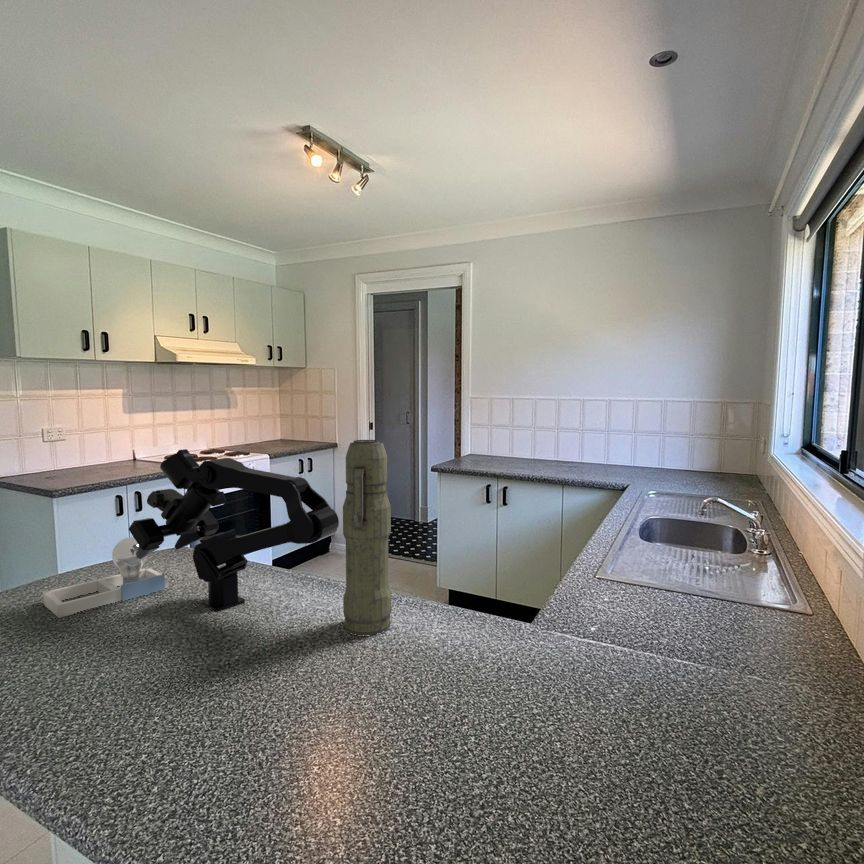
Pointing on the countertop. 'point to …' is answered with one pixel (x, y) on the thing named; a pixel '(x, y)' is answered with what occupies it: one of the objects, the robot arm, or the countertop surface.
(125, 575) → the light bulb
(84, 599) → the white tray
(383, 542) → the thermos
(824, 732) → the countertop surface
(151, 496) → the robot arm
